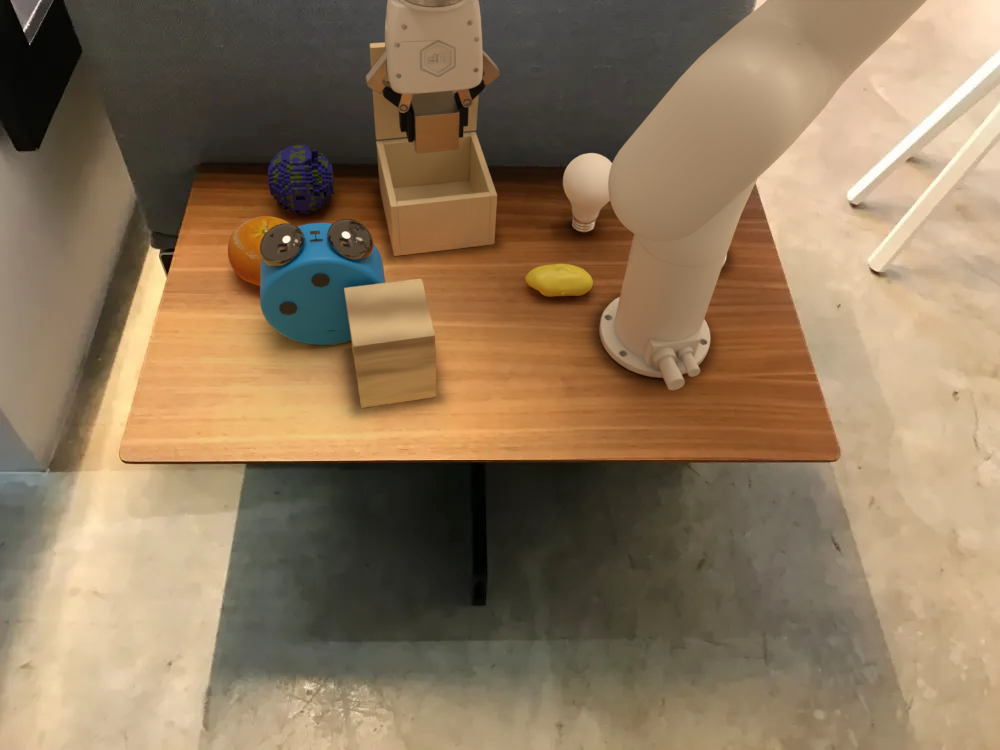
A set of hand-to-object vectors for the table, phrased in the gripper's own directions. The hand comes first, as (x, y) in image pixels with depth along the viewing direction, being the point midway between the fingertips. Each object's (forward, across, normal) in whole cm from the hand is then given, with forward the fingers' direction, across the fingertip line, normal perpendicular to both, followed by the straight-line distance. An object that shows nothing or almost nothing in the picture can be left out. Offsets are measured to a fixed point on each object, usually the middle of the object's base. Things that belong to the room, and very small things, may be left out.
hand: (433, 131), depth 99 cm
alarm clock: (+13, -15, -17) cm, 26 cm away
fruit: (+13, -21, -7) cm, 26 cm away
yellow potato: (+13, +12, -16) cm, 24 cm away
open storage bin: (+13, 0, 0) cm, 13 cm away
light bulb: (+13, +18, -6) cm, 23 cm away
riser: (+13, -9, -25) cm, 29 cm away
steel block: (+1, 0, 0) cm, 1 cm away
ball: (+13, -16, +5) cm, 21 cm away
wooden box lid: (-2, 0, +5) cm, 5 cm away
